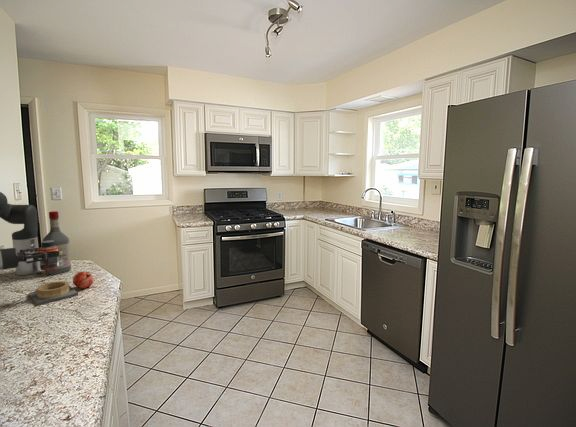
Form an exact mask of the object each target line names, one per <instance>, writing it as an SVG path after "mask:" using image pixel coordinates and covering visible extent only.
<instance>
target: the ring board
mask: <svg viewBox="0 0 576 427" xmlns="http://www.w3.org/2000/svg"><path fill="white" fill-rule="evenodd" d="M28 294H29V297H30V298H31V299H32V301H33V302H34V303H35V305H37V306H38V307H39V306H42V305H46V304H50V303H53V302H57V301H62V300H65V299H69V298H73V297H78V296H79V292H78V291H77V290H75V289H74V288H73V287H71V285H70V283H69V282H68V281H62V280H61V281H59V280H58V281H51V282H47V283H44V284H41V285H39V286H38V287H36V291H32V292H29V293H28Z"/></svg>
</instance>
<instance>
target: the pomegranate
mask: <svg viewBox="0 0 576 427" xmlns="http://www.w3.org/2000/svg"><path fill="white" fill-rule="evenodd" d="M94 282H95V280H94V277H93V275H92V273H91V272H87V271H80V272H77V273H76V274H75V275H74V276H73V278H72V284H73V285H74V286H75V287H76V288H77V289H81V290H84V289H86V288H89V287H91V286H92V285H93V284H94Z"/></svg>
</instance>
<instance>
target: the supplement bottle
mask: <svg viewBox="0 0 576 427" xmlns="http://www.w3.org/2000/svg"><path fill="white" fill-rule="evenodd" d="M40 244H41V246H40V247H38V248H39V252H40V253H41V252H51V251H58V247H57V246H55V245H54V241H53V240H47V241H43V240H42V241H41V243H40ZM40 257H42V256H40ZM58 267H59V259H58V256H57V257H51V258H47V259H46V260H44V261H40V271H44V272H45V271H49V270H54V269H57V268H58Z"/></svg>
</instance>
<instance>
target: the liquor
mask: <svg viewBox="0 0 576 427" xmlns="http://www.w3.org/2000/svg"><path fill="white" fill-rule="evenodd" d="M59 215H60V214H59V211H55V210H53V211H48V217H49V218H48V219H49V224H50V229H49V232H48V233H47V234H46V235H45V236H44V237H43V238H42V241H47V240H53V241H54V245H55V246H57V247H58V251H59V256H58V259H59V267H58V268H57V269H54V270H49V271H44V272H45V273H46V274H48V275H50V276H57V274H58V275H61V273H62V274H65V272H66V273H69V272H70V271H71V270H72V258H71V245H70V238H69V237H68V236H67V235H66V234H64V232H62V231H61V229H60V221H59Z"/></svg>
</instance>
